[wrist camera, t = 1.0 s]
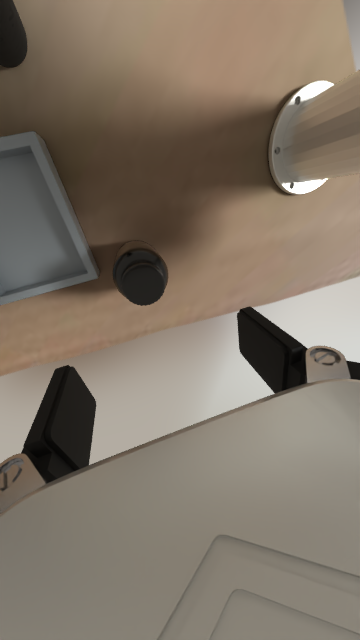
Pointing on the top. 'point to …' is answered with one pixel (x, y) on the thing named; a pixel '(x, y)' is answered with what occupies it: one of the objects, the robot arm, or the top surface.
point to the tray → (37, 224)
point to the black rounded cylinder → (11, 35)
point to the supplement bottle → (140, 273)
